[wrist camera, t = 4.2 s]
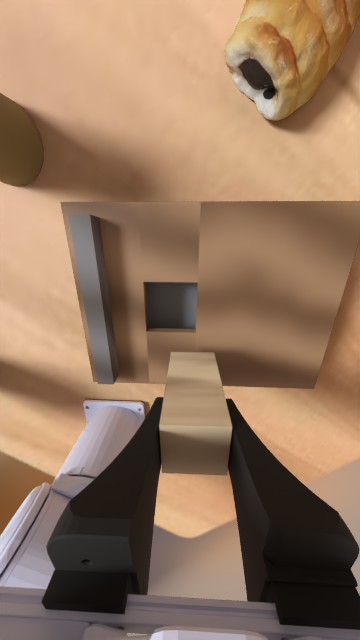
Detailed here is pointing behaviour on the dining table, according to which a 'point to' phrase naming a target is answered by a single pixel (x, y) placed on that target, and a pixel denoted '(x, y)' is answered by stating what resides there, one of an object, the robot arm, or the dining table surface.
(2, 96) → the olive pawn figure
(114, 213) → the lid
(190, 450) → the block
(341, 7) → the pastry
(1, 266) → the dining table surface
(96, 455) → the robot arm
